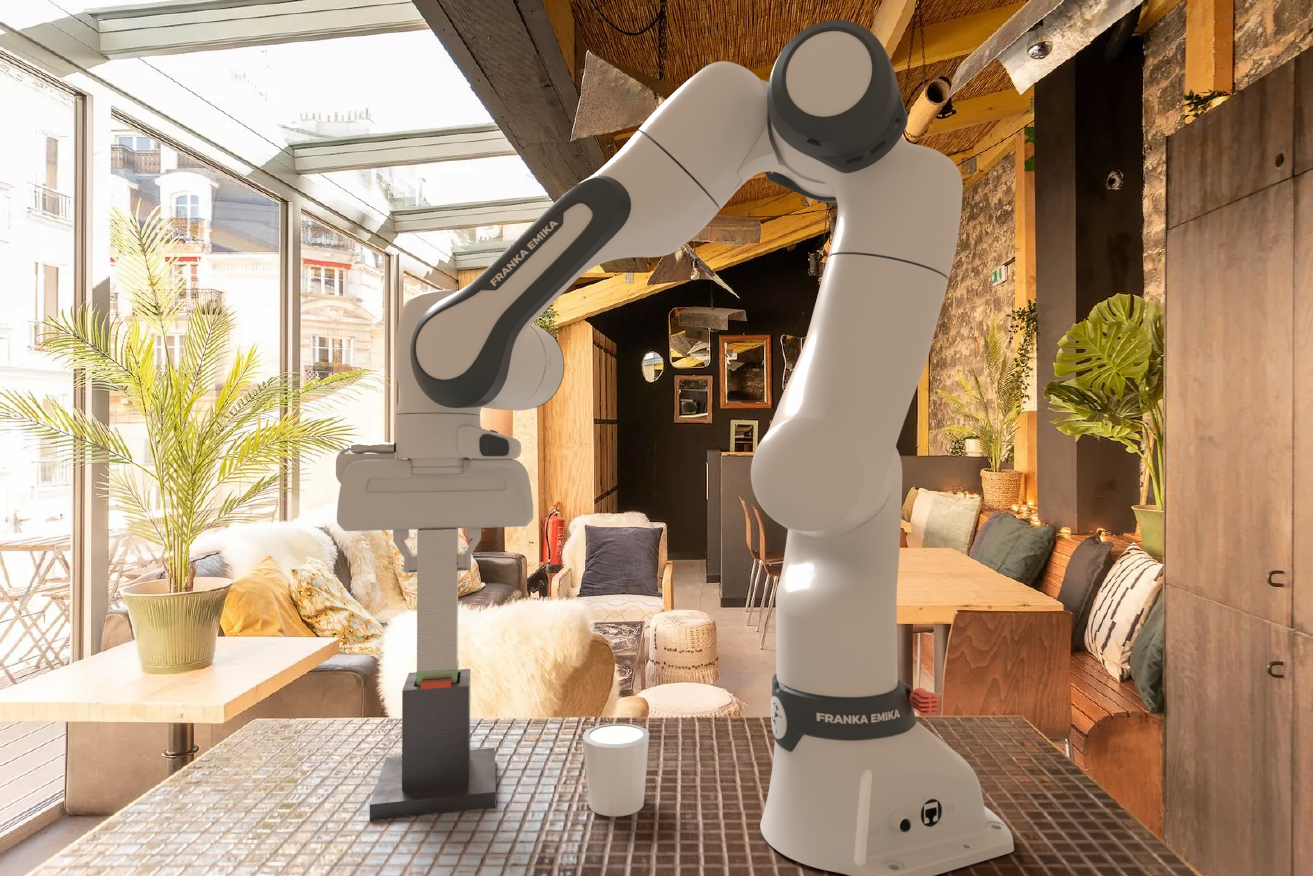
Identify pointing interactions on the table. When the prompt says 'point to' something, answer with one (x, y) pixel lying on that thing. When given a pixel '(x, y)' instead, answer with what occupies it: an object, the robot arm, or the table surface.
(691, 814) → the table surface
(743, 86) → the robot arm
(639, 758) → the white tapered cup
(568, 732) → the table surface
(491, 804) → the sleeve stand
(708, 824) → the table surface
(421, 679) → the steel post
